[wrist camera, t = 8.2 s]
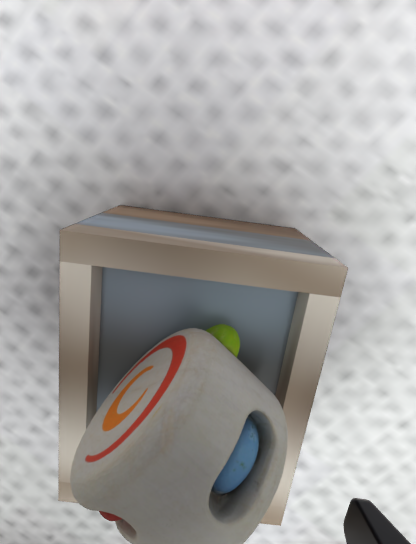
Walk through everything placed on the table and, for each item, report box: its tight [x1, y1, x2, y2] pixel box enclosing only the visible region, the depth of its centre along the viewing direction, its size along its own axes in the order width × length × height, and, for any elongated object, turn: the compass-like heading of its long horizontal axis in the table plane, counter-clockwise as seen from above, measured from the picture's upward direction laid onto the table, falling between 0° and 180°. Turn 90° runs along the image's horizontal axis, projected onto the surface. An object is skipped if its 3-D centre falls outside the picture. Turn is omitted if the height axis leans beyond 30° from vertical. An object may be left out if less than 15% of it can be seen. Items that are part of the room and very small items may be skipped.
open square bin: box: [58, 205, 348, 526], centre depth 16 cm, size 11×9×7 cm
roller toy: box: [70, 324, 288, 544], centre depth 11 cm, size 4×6×6 cm
